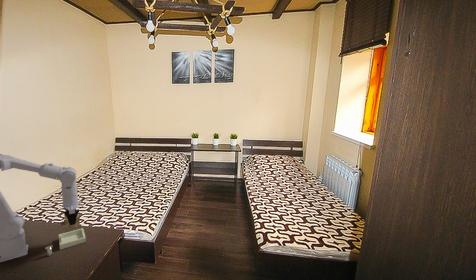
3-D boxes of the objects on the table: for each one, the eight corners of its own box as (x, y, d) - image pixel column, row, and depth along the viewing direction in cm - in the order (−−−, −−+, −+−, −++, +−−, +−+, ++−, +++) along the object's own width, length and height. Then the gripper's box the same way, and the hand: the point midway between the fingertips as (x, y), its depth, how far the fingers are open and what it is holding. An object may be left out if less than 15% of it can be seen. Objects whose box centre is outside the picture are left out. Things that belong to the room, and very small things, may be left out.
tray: (60, 250, 104) (59, 245, 103) (59, 239, 111) (58, 234, 111) (86, 242, 110) (85, 237, 110) (83, 232, 117) (83, 228, 117)
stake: (46, 257, 99) (45, 248, 98) (46, 255, 100) (45, 246, 100) (53, 255, 101) (52, 246, 100) (53, 253, 102) (52, 244, 101)
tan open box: (61, 231, 105) (60, 221, 104) (61, 226, 109) (60, 216, 108) (80, 226, 109) (79, 216, 108) (78, 221, 113) (78, 212, 112)
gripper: (82, 198, 104) (84, 225, 106) (78, 187, 115) (80, 212, 117) (62, 201, 99) (64, 230, 102) (60, 190, 110) (63, 216, 113)
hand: (72, 221), depth 109 cm, fingers closed on tan open box, 5 cm apart
